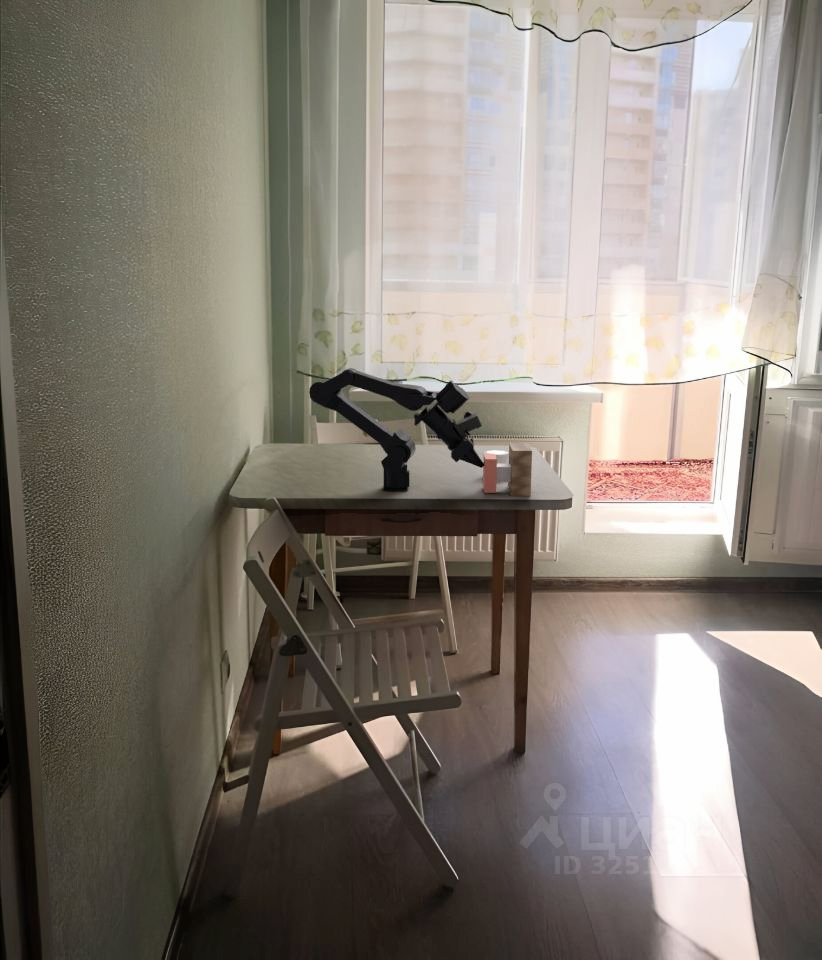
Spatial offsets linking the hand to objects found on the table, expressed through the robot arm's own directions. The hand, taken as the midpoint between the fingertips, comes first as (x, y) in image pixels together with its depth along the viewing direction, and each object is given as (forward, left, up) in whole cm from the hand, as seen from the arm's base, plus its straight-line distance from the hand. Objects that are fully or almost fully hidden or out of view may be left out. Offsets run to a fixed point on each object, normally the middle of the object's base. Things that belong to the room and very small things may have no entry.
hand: (483, 466), depth 243 cm
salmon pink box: (+5, 0, -6) cm, 8 cm away
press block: (+10, 0, -7) cm, 12 cm away
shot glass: (+5, +17, -7) cm, 19 cm away
